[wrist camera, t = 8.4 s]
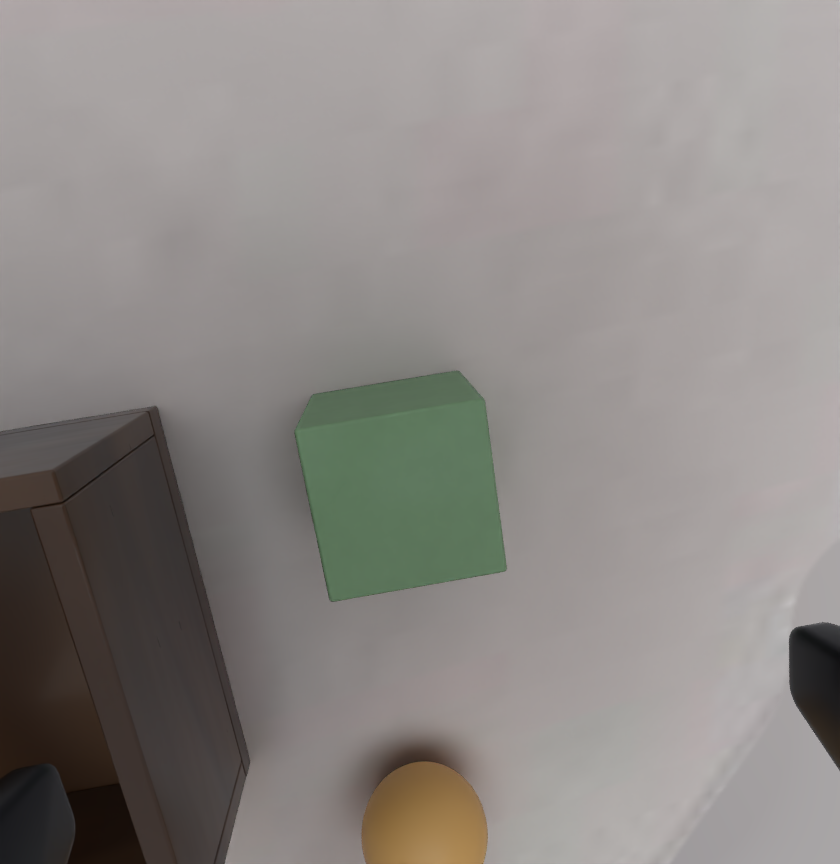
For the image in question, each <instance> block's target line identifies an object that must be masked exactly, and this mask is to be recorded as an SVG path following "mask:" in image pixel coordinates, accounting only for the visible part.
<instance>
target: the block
mask: <svg viewBox="0 0 840 864" xmlns="http://www.w3.org/2000/svg"><path fill="white" fill-rule="evenodd" d="M294 433H295V438H296V443H297V448H298V453H299V457H300V462H301V467H302V472H303V476H304V481H305V486H306V491H307V495H308V500H309V505H310V510H311V514H312V519H313V524H314V529H315V533H316V538H317V543H318V548H319V552H320V557H321V562H322V567H323V571H324V576H325V581H326V586H327V591H328V595H329V599H330V601H331V602H334V601H340V600H346V599H351V598H357V597H363V596H369V595H374V594H380V593H386V592H391V591H397V590H403V589H408V588H414V587H420V586H425V585H431V584H437V583H443V582H448V581H454V580H460V579H465V578H471V577H477V576H482V575H488V574H494V573H500V572H504V571H506V569H507V566H506V559H505V551H504V543H503V536H502V528H501V520H500V513H499V505H498V497H497V490H496V482H495V474H494V467H493V459H492V451H491V444H490V436H489V428H488V421H487V413H486V405H485V400H484V399H483V397H482V396H481V395H480V394H479V393H478V392H477V391H476V390H475V388H474V387H473V386H472V385H471V384H470V383H469V382H468V381H467V379H466V378H465V377H464V376H463V375H462V374H461V373H460V372H459V371H452V372H446V373H440V374H434V375H427V376H421V377H415V378H409V379H403V380H397V381H391V382H385V383H379V384H373V385H367V386H361V387H355V388H349V389H342V390H336V391H330V392H324V393H318V394H313V395H312V396H311V398H310V400H309V402H308V404H307V406H306V408H305V410H304V412H303V414H302V417H301V419H300V421H299V423H298V425H297V427H296V429H295V432H294Z"/></svg>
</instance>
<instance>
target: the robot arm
mask: <svg viewBox="0 0 840 864" xmlns="http://www.w3.org/2000/svg"><path fill="white" fill-rule="evenodd" d="M789 683H790V690H791V694H792V697H793V700H794V702H795V704H796V706H797V707H798V709H799V711H800V712H801V714H802V715H803V717H804V718H805V719H806V721H807V723H808V724H809V726H810V727H811V728H812V730H813V732H814V733H815V735H816V736H817V737H818V739H819V740H820V742H821V743H822V745H823V746H824V748H825V749H826V751H827V752H828V754H829V755H830V757H831V758H832V760H833V761H834V763H835V764H836V766H837V767H838V769H839V770H840V626H838V625H835V624H831V623H824V622H822V623H816V624H811V625H805V626H800V627H796V628H795V629H793V630H792V632H791V634H790V637H789ZM74 836H75V819H74V815H73V812H72V809H71V806H70V803H69V801H68V798H67V795H66V792H65V789H64V787H63V784H62V781H61V778H60V775H59V773H58V771H57V769H56V768H55V767H54V766H53V765H52V764H48V763H43V764H37V765H32V766H26V767H21V768H17V769H14V770H12V771H10V772H9V773H7V774H6V775H5V776H3V777H2V778H0V864H67V862H68V858H69V855H70V852H71V848H72V845H73V841H74Z"/></svg>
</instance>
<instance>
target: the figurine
mask: <svg viewBox="0 0 840 864" xmlns="http://www.w3.org/2000/svg"><path fill="white" fill-rule="evenodd" d="M487 839H488V833H487V823H486V817H485V813H484V810H483V807H482V804H481V802H480V800H479V798H478V796H477V794H476V792H475V791H474V789H473V788H472V786H471V785H470V784H469V783H468V782H467V781H466V780H465V779H464V778H463V777H462V776H461V775H460V774H459V773H457V772H456V771H454V770H453V769H451V768H449V767H447V766H445V765H442V764H439V763H435V762H426V761H422V762H414V763H410V764H407V765H404V766H402V767H399V768H398V769H396V770H394V771H393V772H391V773H390V774H389V775H388V776H386V777H385V778H384V779H383V780H382V781H381V782H380V784H379V785H378V786H377V788H376V789H375V790H374V792H373V794H372V796H371V797H370V799H369V802H368V804H367V807H366V810H365V813H364V817H363V823H362V848H363V854H364V858H365V861H366V864H483V862H484V859H485V855H486V850H487Z"/></svg>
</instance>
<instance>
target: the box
mask: <svg viewBox="0 0 840 864" xmlns="http://www.w3.org/2000/svg"><path fill="white" fill-rule="evenodd" d="M43 763H48V764H52V765H53V766H54V767H55V768H56V769H57V771H58V773H59V775H60V778H61V781H62V784H63V787H64V789H65V792H66V795H67V798H68V801H69V803H70V806H71V809H72V812H73V815H74V819H75V836H74V841H73V845H72V848H71V852H70V855H69V858H68V862H67V864H224V863H225V859H226V855H227V851H228V847H229V843H230V839H231V835H232V831H233V827H234V823H235V819H236V815H237V811H238V807H239V803H240V799H241V795H242V791H243V787H244V783H245V779H246V776H247V773H248V769H249V765H250V759H249V755H248V752H247V748H246V744H245V740H244V736H243V733H242V729H241V725H240V721H239V717H238V714H237V710H236V706H235V702H234V699H233V695H232V691H231V687H230V683H229V680H228V676H227V672H226V668H225V664H224V661H223V657H222V653H221V649H220V645H219V642H218V638H217V634H216V630H215V626H214V623H213V619H212V615H211V611H210V607H209V604H208V600H207V596H206V592H205V588H204V585H203V581H202V577H201V573H200V570H199V566H198V562H197V558H196V554H195V551H194V547H193V543H192V539H191V535H190V532H189V528H188V524H187V520H186V516H185V513H184V509H183V505H182V501H181V497H180V494H179V490H178V486H177V482H176V478H175V475H174V471H173V467H172V463H171V459H170V456H169V452H168V448H167V444H166V440H165V437H164V433H163V429H162V425H161V422H160V418H159V414H158V410H157V407H156V406H153V407H147V408H141V409H135V410H129V411H123V412H117V413H110V414H104V415H98V416H92V417H86V418H80V419H74V420H68V421H62V422H56V423H49V424H43V425H37V426H31V427H25V428H19V429H13V430H7V431H1V432H0V778H2V777H3V776H5V775H6V774H7V773H9V772H10V771H12V770H14V769H17V768H21V767H26V766H32V765H37V764H43Z"/></svg>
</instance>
